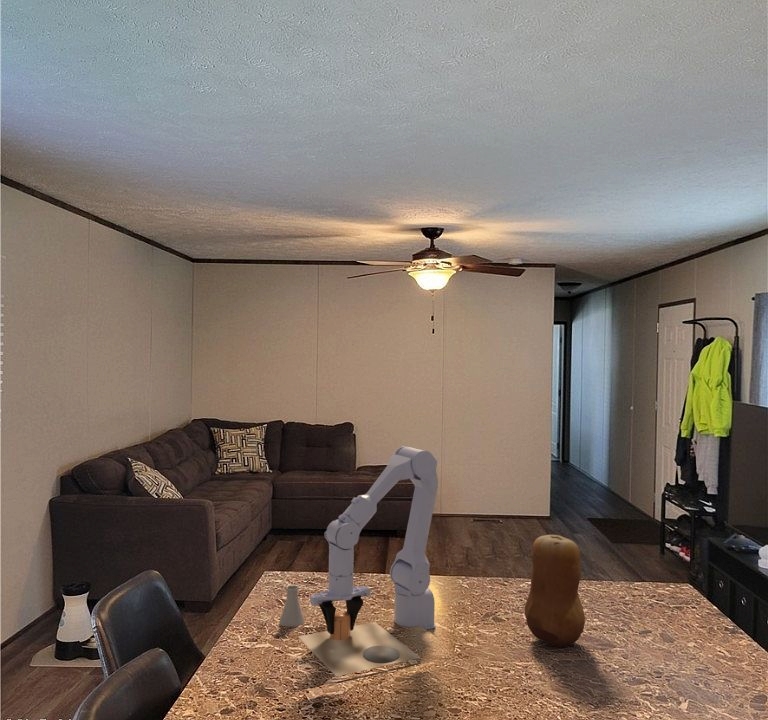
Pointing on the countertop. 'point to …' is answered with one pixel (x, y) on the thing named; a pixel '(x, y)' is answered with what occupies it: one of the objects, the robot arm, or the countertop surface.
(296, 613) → the flask
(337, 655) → the board
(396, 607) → the robot arm
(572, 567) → the butternut squash
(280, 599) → the countertop surface
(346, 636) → the orange domed tapered piece
